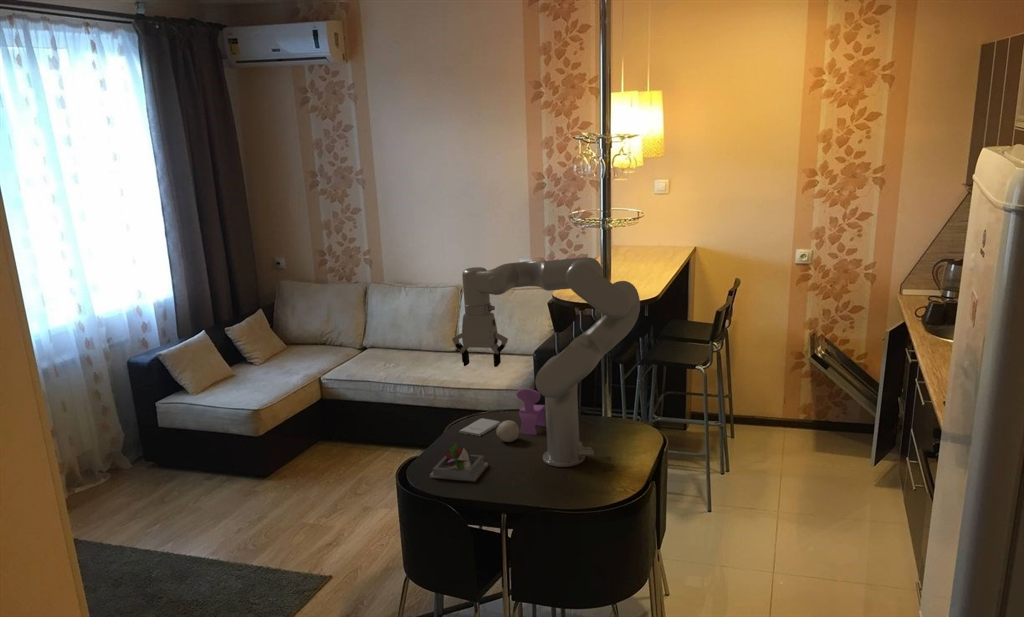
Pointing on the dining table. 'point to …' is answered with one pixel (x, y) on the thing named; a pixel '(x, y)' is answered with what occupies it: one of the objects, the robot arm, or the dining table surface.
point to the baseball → (508, 431)
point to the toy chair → (530, 411)
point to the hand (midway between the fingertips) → (481, 365)
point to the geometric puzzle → (457, 456)
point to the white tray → (465, 473)
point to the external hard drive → (480, 427)
